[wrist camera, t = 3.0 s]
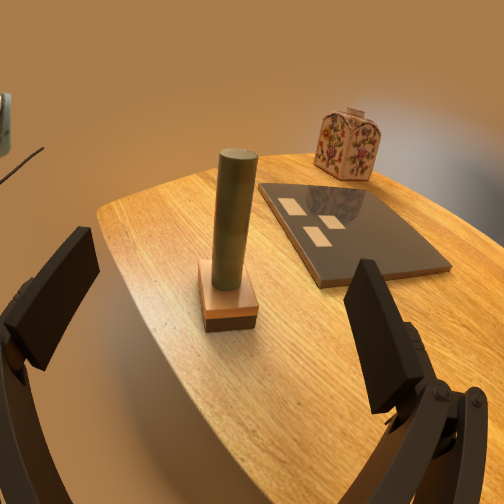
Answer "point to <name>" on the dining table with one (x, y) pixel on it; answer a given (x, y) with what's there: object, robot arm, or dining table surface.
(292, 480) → the dining table surface
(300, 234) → the tile
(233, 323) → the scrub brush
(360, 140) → the decorative jar
